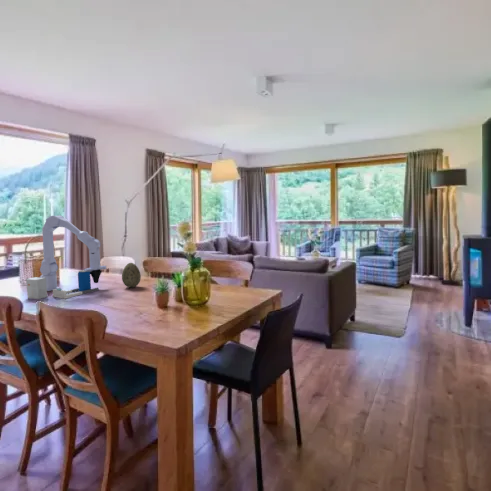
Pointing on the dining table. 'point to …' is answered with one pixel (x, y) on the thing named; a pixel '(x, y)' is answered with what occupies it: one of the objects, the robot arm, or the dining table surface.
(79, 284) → the beverage can
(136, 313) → the dining table surface
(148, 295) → the dining table surface
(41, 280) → the small box
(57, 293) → the dock
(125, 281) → the decorative egg
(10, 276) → the dining table surface
